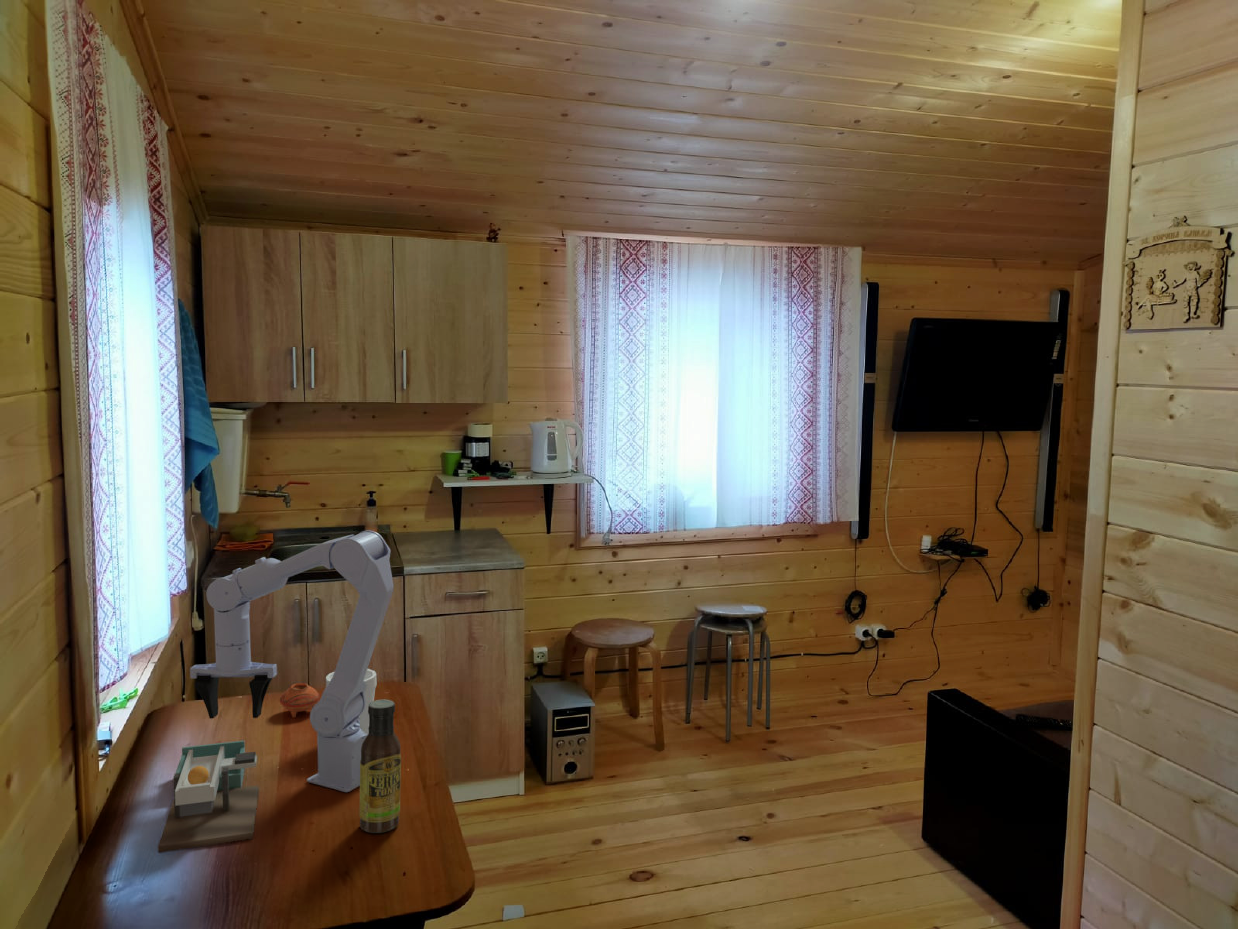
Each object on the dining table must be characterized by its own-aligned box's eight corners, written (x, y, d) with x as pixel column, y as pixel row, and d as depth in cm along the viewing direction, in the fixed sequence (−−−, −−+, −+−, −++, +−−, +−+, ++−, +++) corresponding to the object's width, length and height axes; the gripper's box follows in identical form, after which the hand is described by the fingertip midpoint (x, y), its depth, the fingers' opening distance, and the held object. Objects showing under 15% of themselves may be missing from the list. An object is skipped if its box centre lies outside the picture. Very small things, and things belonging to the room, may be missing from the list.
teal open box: (241, 791, 151) (240, 763, 151) (174, 799, 148) (174, 770, 148) (245, 767, 161) (244, 740, 161) (183, 774, 158) (182, 747, 157)
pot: (318, 702, 194) (319, 675, 192) (319, 723, 187) (320, 695, 185) (279, 705, 191) (279, 677, 189) (279, 726, 184) (279, 698, 182)
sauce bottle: (368, 840, 136) (366, 714, 134) (353, 824, 141) (351, 702, 139) (407, 828, 140) (406, 705, 138) (392, 812, 144) (390, 694, 143)
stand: (252, 839, 136) (251, 791, 135) (158, 852, 131) (156, 803, 131) (259, 791, 152) (257, 748, 151) (174, 801, 147) (173, 757, 147)
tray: (251, 808, 137) (251, 779, 136) (175, 818, 133) (174, 789, 133) (257, 766, 152) (257, 740, 151) (189, 774, 148) (188, 747, 148)
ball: (213, 783, 139) (212, 765, 138) (196, 791, 136) (196, 772, 136) (200, 779, 140) (199, 761, 140) (183, 787, 137) (182, 768, 137)
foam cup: (368, 750, 169) (367, 684, 168) (320, 749, 169) (318, 683, 168) (382, 731, 178) (381, 668, 177) (337, 730, 179) (335, 667, 177)
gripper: (281, 635, 162) (284, 707, 163) (201, 636, 161) (203, 708, 162) (268, 646, 155) (270, 722, 156) (183, 647, 154) (186, 723, 155)
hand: (235, 716), depth 159 cm, fingers open, 7 cm apart
